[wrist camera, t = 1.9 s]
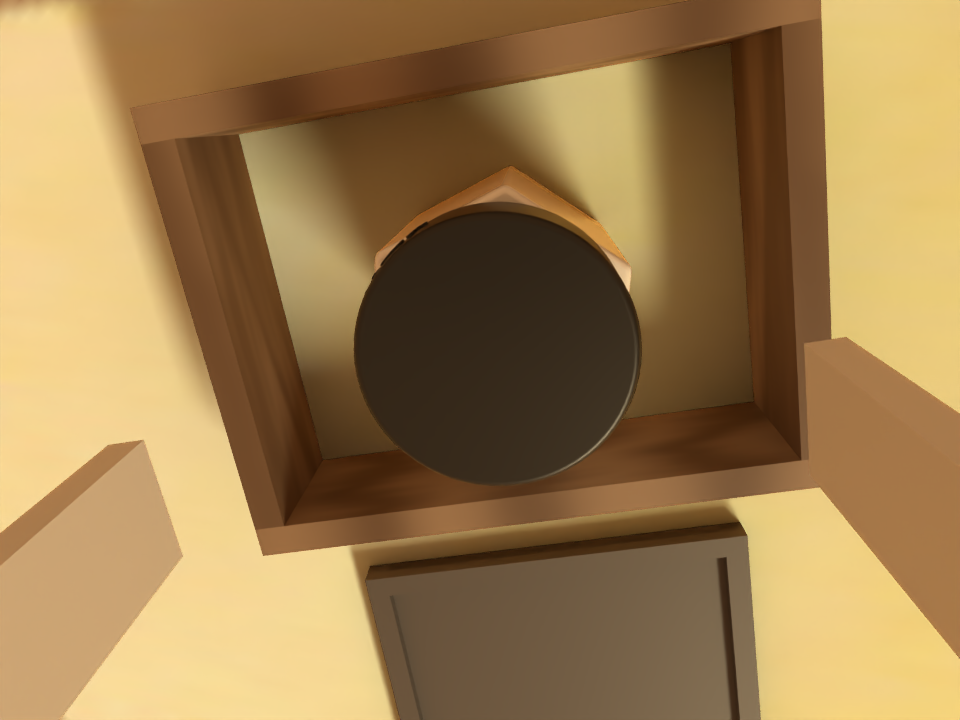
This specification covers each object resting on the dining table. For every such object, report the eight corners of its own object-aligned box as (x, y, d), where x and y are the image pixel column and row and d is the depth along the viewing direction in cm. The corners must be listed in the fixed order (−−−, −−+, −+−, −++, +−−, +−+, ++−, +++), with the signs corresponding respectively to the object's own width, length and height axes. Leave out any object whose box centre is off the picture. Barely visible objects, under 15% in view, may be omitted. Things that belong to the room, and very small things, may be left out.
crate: (760, 3, 28) (819, -25, 23) (782, 422, 34) (836, 485, 28) (203, 109, 31) (129, 108, 25) (304, 485, 36) (262, 555, 30)
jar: (411, 161, 31) (346, 188, 20) (609, 169, 31) (660, 201, 19) (409, 366, 34) (351, 493, 22) (591, 375, 33) (626, 510, 22)
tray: (739, 522, 35) (747, 535, 34) (758, 769, 40) (765, 788, 39) (370, 566, 37) (365, 580, 36) (427, 797, 42) (424, 816, 40)
